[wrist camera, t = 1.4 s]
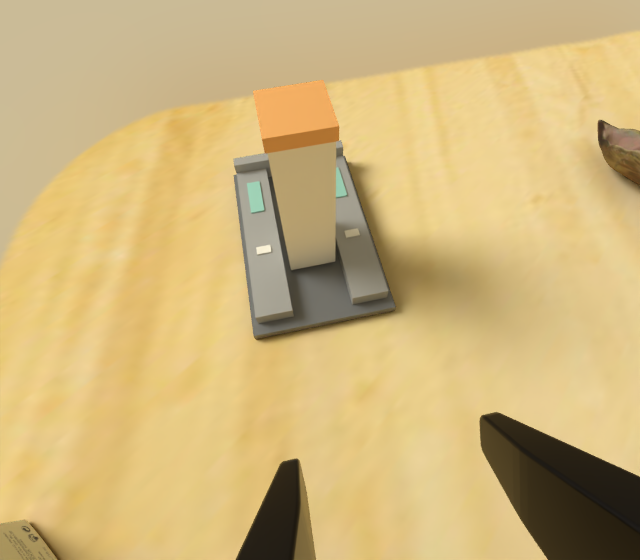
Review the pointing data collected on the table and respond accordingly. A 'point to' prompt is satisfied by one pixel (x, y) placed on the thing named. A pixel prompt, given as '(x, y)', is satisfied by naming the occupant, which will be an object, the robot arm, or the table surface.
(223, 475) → the table surface
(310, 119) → the fader knob
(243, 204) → the console
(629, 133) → the ceramic sculpture
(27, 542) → the skincare box
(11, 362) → the table surface
